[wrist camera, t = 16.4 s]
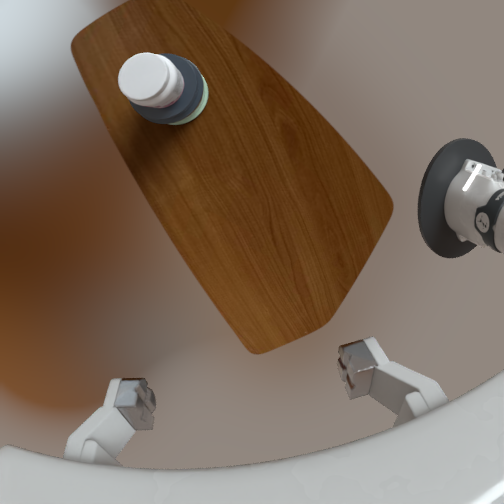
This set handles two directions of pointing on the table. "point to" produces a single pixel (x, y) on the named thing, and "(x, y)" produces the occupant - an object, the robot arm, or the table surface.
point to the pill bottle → (151, 80)
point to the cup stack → (188, 102)
